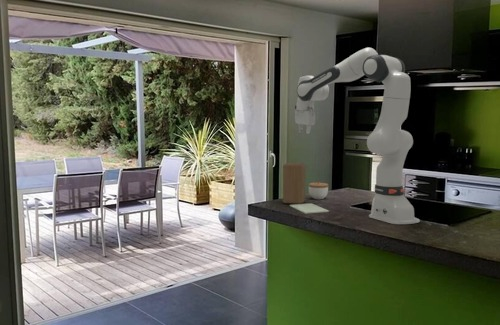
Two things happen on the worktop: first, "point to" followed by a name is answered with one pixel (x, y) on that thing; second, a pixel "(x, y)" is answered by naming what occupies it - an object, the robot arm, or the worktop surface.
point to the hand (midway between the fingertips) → (304, 133)
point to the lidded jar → (318, 190)
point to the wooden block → (294, 183)
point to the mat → (309, 208)
